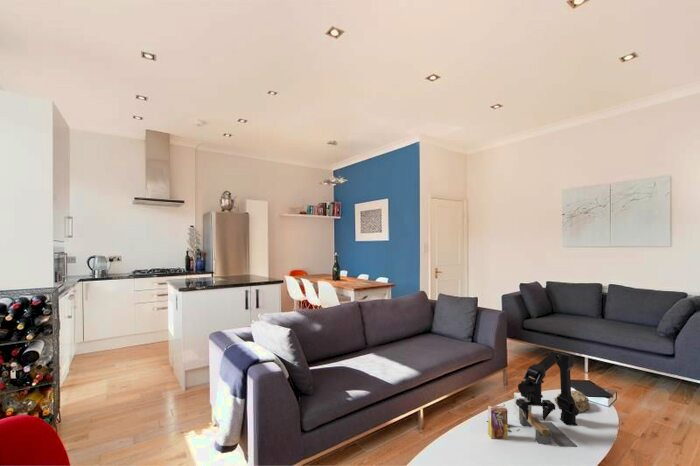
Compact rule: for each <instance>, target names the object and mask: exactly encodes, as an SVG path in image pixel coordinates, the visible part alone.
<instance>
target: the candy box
mask: <svg viewBox="0 0 700 466" xmlns="http://www.w3.org/2000/svg"><path fill="white" fill-rule="evenodd" d="M487 414H488V415H487V421H488V422H487V427H488V428H487V430H488V431H487V435H488V436H489V437H490V439H493V440H494V439H495V440H496V439H497V440H500V439H501V440H502V439H503V440H504V439H505V440H508V437H509V436H508V435H509V432H508V425H509V423H508V408H506V406H505V407H504V405H488V406H487Z"/></svg>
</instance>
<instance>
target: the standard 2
mask: <svg viewBox="0 0 700 466" xmlns="http://www.w3.org/2000/svg"><path fill="white" fill-rule="evenodd" d="M535 442H536V443H537V444H538V445H552V444H553V439H552V433H551V432H550V431H549V437H542V436H541V435H540V432H539V431H538V430H535Z"/></svg>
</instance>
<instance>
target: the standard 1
mask: <svg viewBox="0 0 700 466" xmlns="http://www.w3.org/2000/svg"><path fill="white" fill-rule="evenodd" d="M519 424H520V425H521V426H522V427H530V428H531V427H532V428H534V427H533V426H532V425H531V424H530V423H529V422H528V421H527V420H526V419H525V418H524V416H523V415H522V414H520V419H519Z"/></svg>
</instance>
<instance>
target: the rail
mask: <svg viewBox="0 0 700 466" xmlns="http://www.w3.org/2000/svg"><path fill="white" fill-rule="evenodd" d="M522 415H523V416H524V418H525V415H524V412H523V410H522ZM525 419H526V418H525ZM527 421H528V422H529V423H530V424H531V425H532V426H533V427H532V428H534V429H535V431H536V430H538V431H539V432H540V435H541V436H542V437H549V429H548V428H547V427H546V426H545V425H544V424H543V423H542V422H543V421H540V419H539V418H537V416H536V415H534V413H531V412H530V411H529V413H528V420H527Z"/></svg>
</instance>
